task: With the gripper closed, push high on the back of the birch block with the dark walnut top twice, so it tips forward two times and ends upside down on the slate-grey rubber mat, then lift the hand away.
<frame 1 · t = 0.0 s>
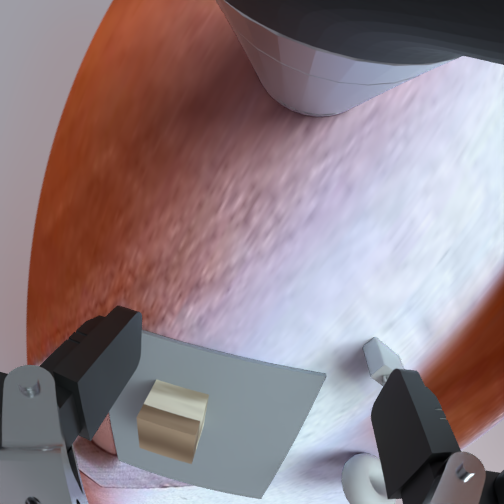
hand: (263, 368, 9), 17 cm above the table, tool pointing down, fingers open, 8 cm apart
mat: (194, 434, 36), on the table
lighter: (389, 358, 29), on the table
donut: (366, 455, 34), on the table
block: (180, 404, 33), resting on mat
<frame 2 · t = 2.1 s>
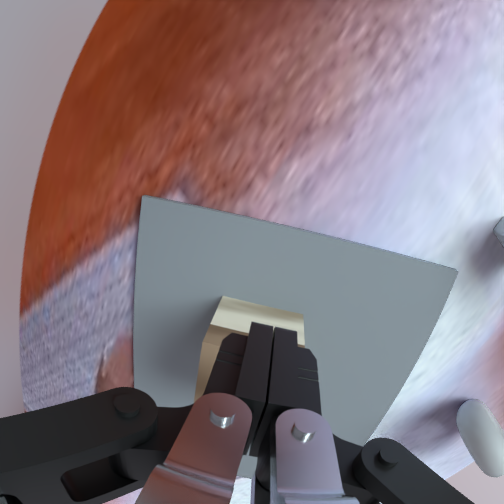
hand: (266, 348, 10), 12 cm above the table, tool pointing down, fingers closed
mat: (263, 392, 26), on the table
donut: (469, 405, 25), on the table
block: (254, 338, 24), resting on mat
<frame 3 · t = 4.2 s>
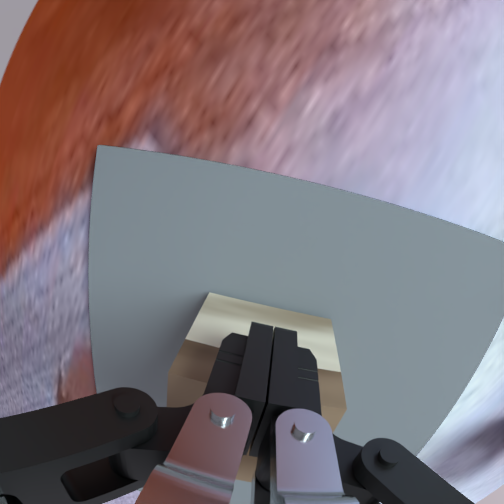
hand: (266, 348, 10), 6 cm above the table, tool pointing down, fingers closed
mat: (269, 425, 18), on the table
block: (257, 354, 16), point 1 cm above the table, touching gripper, mat
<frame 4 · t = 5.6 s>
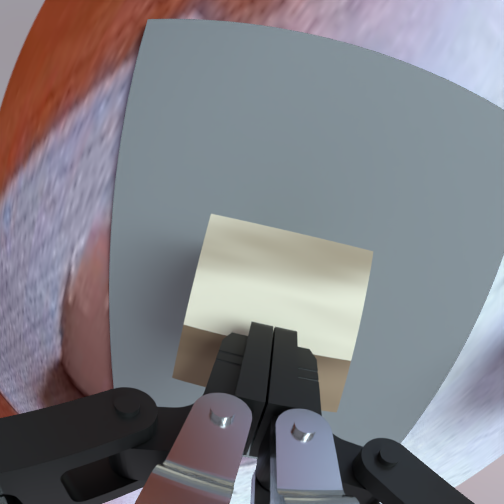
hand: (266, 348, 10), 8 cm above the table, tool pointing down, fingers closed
mat: (302, 308, 18), on the table
block: (285, 246, 14), point 3 cm above the table, tilted 63°, touching mat
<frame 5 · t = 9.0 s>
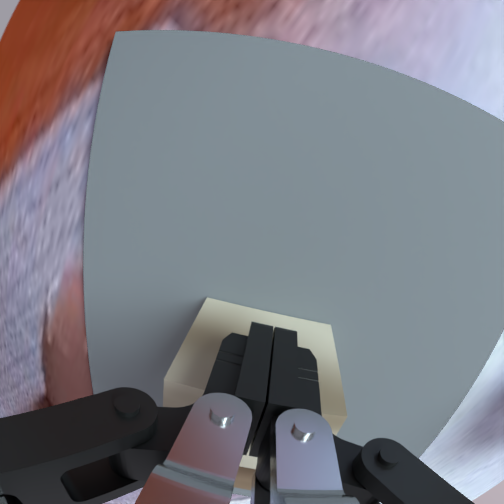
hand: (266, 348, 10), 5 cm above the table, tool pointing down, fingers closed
mat: (294, 362, 16), on the table
block: (264, 348, 12), point 4 cm above the table, tilted 91°, touching gripper, mat
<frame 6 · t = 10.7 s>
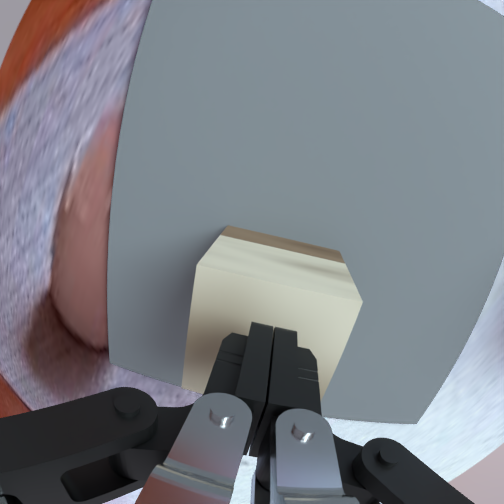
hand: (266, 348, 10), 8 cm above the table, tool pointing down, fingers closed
mat: (334, 190, 16), on the table
block: (262, 353, 12), point 6 cm above the table, tilted 180°, touching mat
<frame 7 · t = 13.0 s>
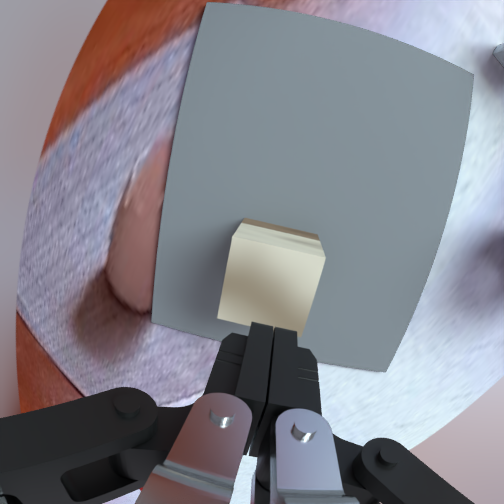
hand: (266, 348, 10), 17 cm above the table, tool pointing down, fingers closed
mat: (314, 194, 25), on the table
block: (268, 290, 21), point 6 cm above the table, tilted 180°, touching mat
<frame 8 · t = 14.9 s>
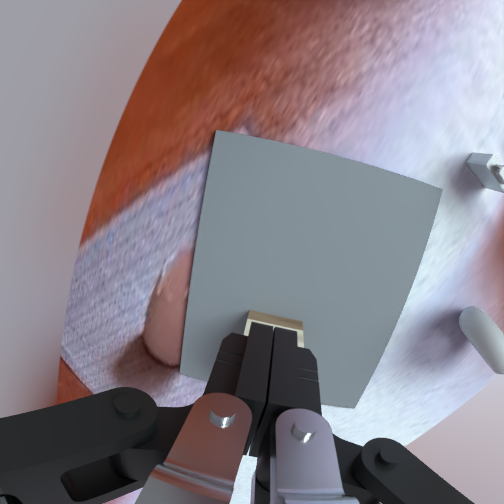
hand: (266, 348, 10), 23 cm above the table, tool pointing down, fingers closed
mat: (300, 294, 34), on the table
lighter: (485, 179, 28), on the table
donut: (469, 319, 33), on the table
block: (266, 369, 30), point 6 cm above the table, tilted 180°, touching mat
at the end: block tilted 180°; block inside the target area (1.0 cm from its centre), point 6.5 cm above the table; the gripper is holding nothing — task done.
